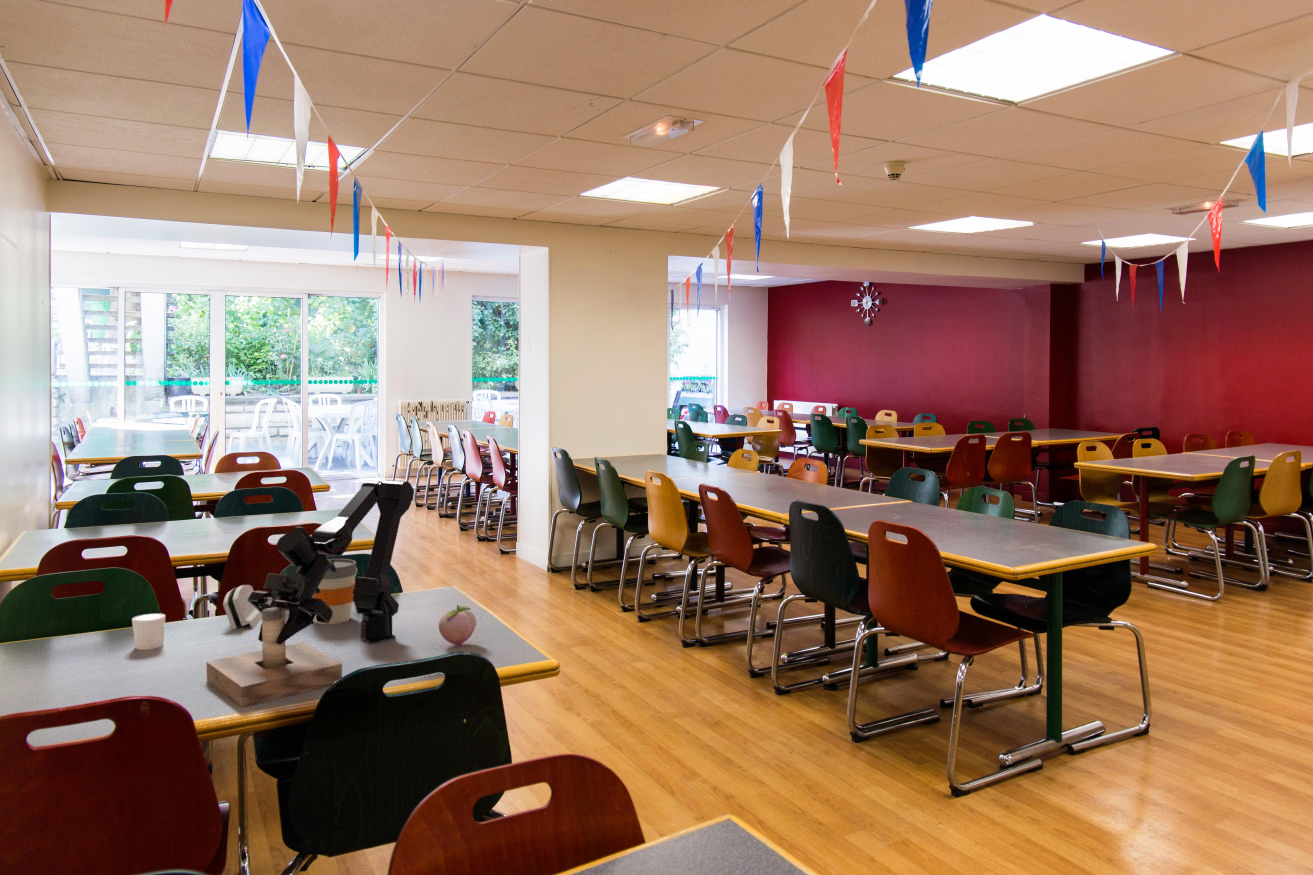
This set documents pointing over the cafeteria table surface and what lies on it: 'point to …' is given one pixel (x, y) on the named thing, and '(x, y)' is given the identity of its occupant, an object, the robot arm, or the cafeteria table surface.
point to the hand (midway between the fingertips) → (268, 642)
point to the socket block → (272, 674)
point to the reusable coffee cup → (338, 590)
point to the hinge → (241, 607)
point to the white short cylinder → (148, 630)
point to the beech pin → (273, 637)
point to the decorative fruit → (457, 625)
